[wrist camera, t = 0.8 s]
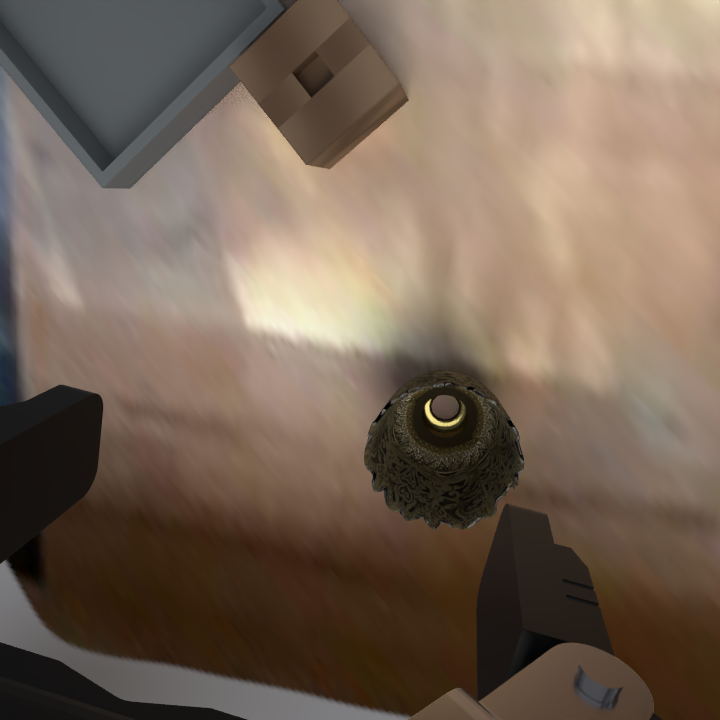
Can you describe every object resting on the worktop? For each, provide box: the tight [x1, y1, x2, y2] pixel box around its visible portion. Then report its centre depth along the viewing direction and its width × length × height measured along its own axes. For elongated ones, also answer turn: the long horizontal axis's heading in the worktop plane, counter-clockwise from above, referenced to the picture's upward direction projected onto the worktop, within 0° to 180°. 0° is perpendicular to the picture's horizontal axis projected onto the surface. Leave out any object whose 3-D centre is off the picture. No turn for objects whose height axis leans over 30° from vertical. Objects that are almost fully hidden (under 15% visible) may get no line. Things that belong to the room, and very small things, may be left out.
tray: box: [0, 0, 287, 188], centre depth 33 cm, size 13×13×3 cm
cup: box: [364, 371, 524, 530], centre depth 34 cm, size 8×7×8 cm
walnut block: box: [230, 0, 409, 169], centre depth 32 cm, size 6×6×6 cm
